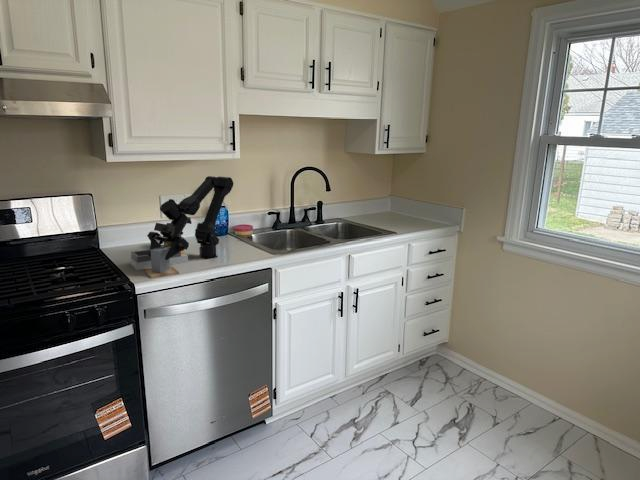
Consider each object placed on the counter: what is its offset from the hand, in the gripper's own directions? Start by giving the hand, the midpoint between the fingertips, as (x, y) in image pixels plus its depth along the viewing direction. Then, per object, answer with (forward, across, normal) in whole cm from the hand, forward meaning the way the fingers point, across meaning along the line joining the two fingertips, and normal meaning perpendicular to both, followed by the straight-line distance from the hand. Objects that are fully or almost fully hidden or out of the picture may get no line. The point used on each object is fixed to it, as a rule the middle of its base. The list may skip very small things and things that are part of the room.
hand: (157, 257), depth 187 cm
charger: (+3, 0, +5) cm, 6 cm away
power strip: (-2, -10, +12) cm, 16 cm away
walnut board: (+4, 0, +6) cm, 7 cm away
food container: (-17, -26, +26) cm, 41 cm away
